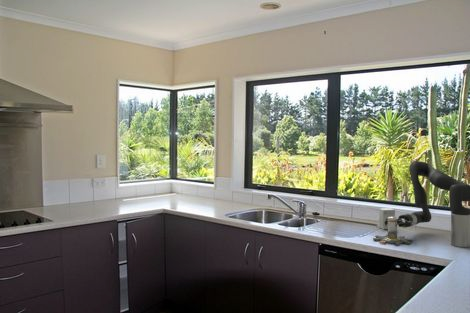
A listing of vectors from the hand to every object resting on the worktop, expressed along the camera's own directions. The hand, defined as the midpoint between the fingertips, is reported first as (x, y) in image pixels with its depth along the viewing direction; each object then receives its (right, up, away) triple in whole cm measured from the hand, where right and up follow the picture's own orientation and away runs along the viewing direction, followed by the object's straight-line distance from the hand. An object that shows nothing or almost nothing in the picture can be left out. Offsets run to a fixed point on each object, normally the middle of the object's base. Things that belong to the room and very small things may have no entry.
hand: (392, 223), depth 220 cm
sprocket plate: (0, -10, +1) cm, 10 cm away
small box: (+10, -9, +32) cm, 35 cm away
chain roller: (0, -8, +1) cm, 9 cm away
